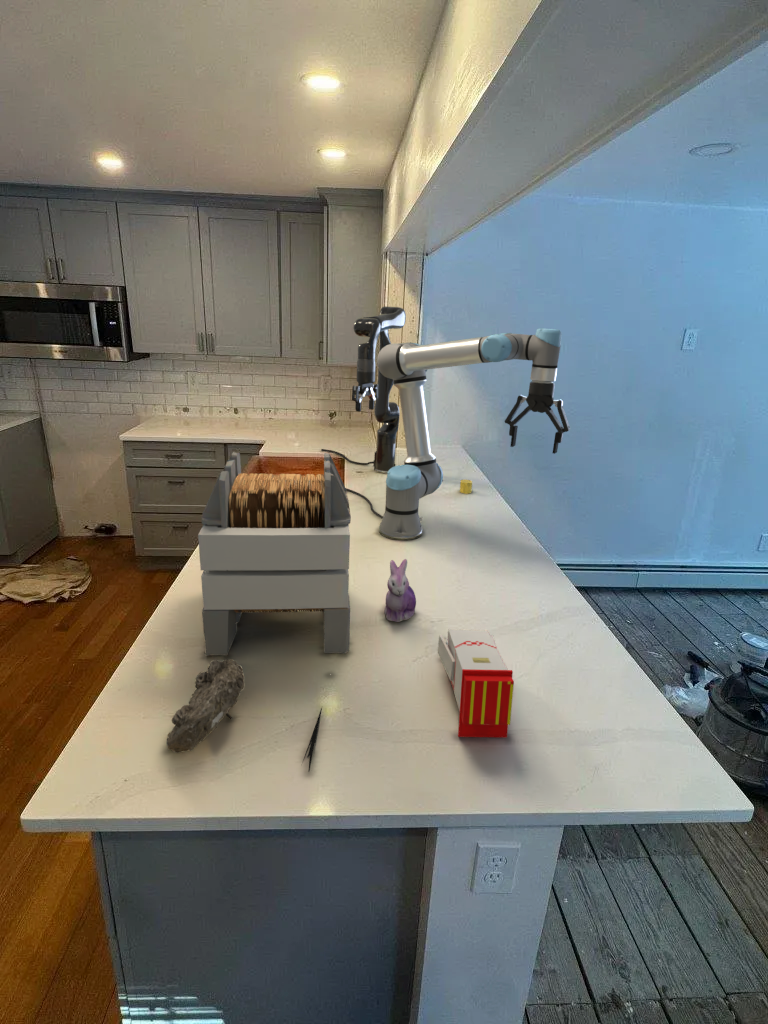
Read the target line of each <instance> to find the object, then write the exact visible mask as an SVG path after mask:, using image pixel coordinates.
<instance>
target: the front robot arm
mask: <svg viewBox="0 0 768 1024" xmlns="http://www.w3.org/2000/svg"><path fill="white" fill-rule="evenodd" d="M562 335H563V334H562V331H561V330H560V329H557V328H556V329H555V328H537V329H536V332H535V334H523V333H512V332H501V333H495V334H491V335H486V336H480V337H479V336H478V337H471V338H465V339H458V340H450V341H449V340H448V341H444V342H437V343H429V344H422V345H421V344H419V343H417V342H401V343H391V344H389V345H387V346H385V347H383V348H382V349H381V351H380V352H379V351H378V354H377V357H376V366H377V370H378V369H379V371H380V372H381V373H382V375H384V376H385V377H387V378H390V379H393V382H394V384H393V386H394V387H396V388H397V389H398V395H399V401H400V411H401V418H402V425H403V434H404V441H405V447H406V458H405V459H404V460H403V464H401V465H399V464H396V465H395V466H394V467H392V468H391V469H390V470H389V471H388V473H386V479H385V504H384V505H385V507H384V508H385V509H384V513H383V515H382V514H380V513H378V512H377V511H376V510H375V509H374V507H373V503H372V502H371V501H370V500H369V498H367V497H366V496H365V495H363V494H362V493H360V492H358V491H355V490H353V489H350V488H347V487H345V488H346V490H347V492H350V493H352V494H355V495H357V496H359V497H361V498H362V499H364V500H365V501H366V502H367V503H368V504H369V507H370V510H371V512H372V513H373V514H374V515H376V516H377V517H379V518H381V522H379V526H378V533H379V534H380V535H381V536H382V537H385V538H387V539H389V540H395V541H410V540H415V539H418V538H420V537H421V536H422V535H423V525H422V524H421V522H422V521H423V516H420V515H419V507H420V506H419V505H420V499H423V498H424V497H426V496H428V495H431V494H433V493H435V492H436V491H437V490H438V489H439V488H440V487H441V486H442V483H443V481H444V472H443V468H442V467H441V466H440V465H439V463H438V462H437V458H436V455H434V454H433V453H432V450H431V441H430V434H429V426H428V425H429V424H428V417H427V410H426V408H427V407H426V401H425V393H424V385H425V383H426V382H427V372H428V370H434V369H443V368H444V369H445V368H452V367H461V366H468V365H469V366H470V365H478V364H488V363H500V362H504V361H511V360H520V361H532V363H531V370H530V377H529V379H530V380H531V381H530V382H529V385H528V386H529V387H528V388H529V389H528V394H527V396H525V395H523V394H520V395H518V396H517V398H516V402H515V404H514V405H513V407H512V409H511V410H510V412H509V414H507V416H506V418H505V419H504V423H505V424H507V425H508V426H509V431H508V436H510V437H511V439H510V447H511V448H514V447H515V446H516V443H517V435H518V425H517V424H518V423H519V422H520V421H521V420H522V419H523V418H525V416H526V415H527V414H528V413H529V412H531V411H532V412H533V413H540V414H544V413H545V414H546V416H547V417H548V418H549V419H550V421H551V423H552V425H553V426H554V427H555V429H556V432H555V433H554V440H553V446H552V454H553V455H555V454H557V453H558V448H559V444H561V443H562V442H563V439H564V438H563V437H564V433H567V432H569V431H570V430H571V426H570V423H569V420H568V416H567V413H566V411H565V408H564V400H563V399H554V395H555V387H556V384H555V382H556V380H557V373H558V366H559V358H560V353H561V347H562V344H561V343H562ZM525 402H526V403H527V406H526V407H525V408H524V409H523V410H522V411H521V412H520V413H519V414H518V415H517V416H516V417H515V415H516V414H517V412H518V410H519V409H520V407H521V406H522V404H524V403H525ZM553 405H554V406H555V408H557V412H558V416H559V418H560V421H561V422H560V421H559V419H558V417H557V416H556V414H555V413H554V410H553V408H552V406H553ZM514 417H515V418H514ZM513 418H514V419H513Z"/></svg>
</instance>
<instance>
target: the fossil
mask: <svg viewBox="0 0 768 1024" xmlns="http://www.w3.org/2000/svg"><path fill="white" fill-rule="evenodd" d="M243 670H244V669H243V667H242V665H240V664H237V662H236V661H235V660H234V659H232V658H231V659H227V658H226V659H224V660H223V661H222V660H217V659H212V660H211V661H210V663H209V665H208V666H207V671H201V672H199V673H198V674H197V675H196V676H195V680H194V684H195V685H194V687H195V689H194V690H193V693H192V694H191V697H190V698H189V700H188V704H184V705H182V706H181V707H180V709H177V710H176V711H175V713H174V715H173V716H172V718H171V723H172V724H173V727H172V730H171V731H170V732H168V734H167V738H166V741H167V742H166V745H167V749H168V750H169V751H173V752H174V753H176V754H178V753H182V752H188V751H189V752H192V751H193V750H195V748H196V747H197V746H199V744H200V743H201V742H203V741H204V740H205V739H206V738H207V737H208V736H209V735H210V734H211V733H212V732H214V730H215V729H217V727H218V726H219V724H220V722H221V721H222V720H223V719H224V718H225V716H226V717H227V719H229V720H233V717H232V715H230V714H229V710H230V709H231V708H234V706H235V704H236V703H237V702H238V699H239V697H240V695H241V693H242V691H243V690H245V689H244V688H245V675H244V671H243Z"/></svg>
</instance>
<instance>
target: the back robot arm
mask: <svg viewBox="0 0 768 1024" xmlns="http://www.w3.org/2000/svg"><path fill="white" fill-rule="evenodd" d="M406 314H407V313H406V311H405V309H404V308H403V307H399V306H386V305H385V306H382V307H381V308H380V311H379V313H378V314H374V315H372V316H362V317H358V318H357V319H356V320H355V321H354V322H353V332H354V333H355V335H356V336H357V337H361V338H368V340H367V341H366V342H361V343H359V344H358V346H357V362H356V382H357V383H358V384H357V385H353V386H352V389H351V390H352V391H351V401H353V402H354V403H355V406H354V407H355V412H358V413H360V412H362V400H363V399H364V398H365V397H368V399H369V400H368V409H369V410H374V413H373V415H374V418H375V420H376V421H377V422H378V423H379V424H382V425H381V427H379V428H378V429H377V430H376V449H375V450H374V455H373V456H374V458H373V461H368V462H359V461H354V460H351V459H349V458H348V457H346V456H345V454H344V453H342V452H338V451H335V450H331V449H325V448H321V449H320V450H321V452H328V453H333V454H336V455H339V456H341V457H342V458H344V459H345V460H346V461H347V462H349V463H351V464H355V465H359V466H368V465H373V471H375V472H377V473H379V474H387V473H388V471H389V470H390V469H391V468H392V467H394V466H396V448H397V433H398V431H399V426H400V411H401V410H400V407H399V405H398V404H397V402H394V401H389V400H390V394H391V390H392V388H393V386H394V382H393V379H390V378H387V377H385V376H384V375H382V373H381V372H380V371H379V369H378V368H377V383H375V382H376V348H377V344H378V340H379V345H378V347H379V348H378V349H379V350H378V353H379V352H380V351H381V349H382V348H383V347H385V346H387V345H389V344H392V342H391V340H390V333H389V330H400V329H402V328H404V326H405V324H406V318H407V317H406Z"/></svg>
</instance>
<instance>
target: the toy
mask: <svg viewBox="0 0 768 1024" xmlns="http://www.w3.org/2000/svg"><path fill="white" fill-rule="evenodd" d="M446 640H447V643H446V641H445V639H444V636H443V635H442V634H439V637H438V646H437V656H438V657H439V659H440V661H441V663H442V666H443V668H444V670H445V672H446V674H447V677H448V679H449V681H450V684H451V687H452V690H453V693H454V697H455V701H456V705H457V708H458V711H459V714H458V715H459V716H458V730H457V731H458V732H457V737H458V738H508V731H509V726H510V725H511V717H512V707H513V697H514V696H513V695H514V684H515V680H514V679H513V673H514V671H513V670H512V669H508V667H507V665H506V662H505V661H504V659H503V658H502V655H501V653H500V651H499V649H498V647H497V643H496V639H495V637H494V635H493V634H491V632H490V631H489V629H467V628H466V629H465V628H463V629H461V628H460V629H459V628H448V630H447V639H446Z"/></svg>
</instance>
